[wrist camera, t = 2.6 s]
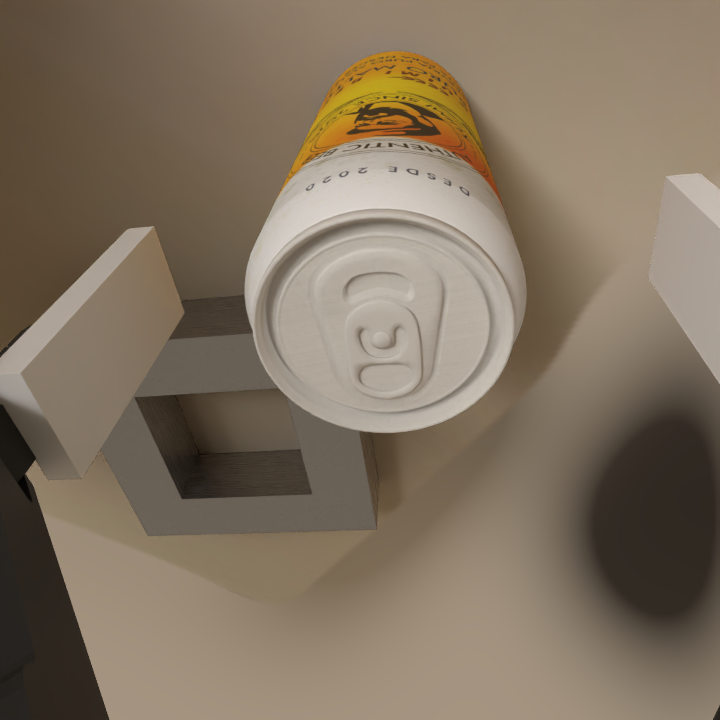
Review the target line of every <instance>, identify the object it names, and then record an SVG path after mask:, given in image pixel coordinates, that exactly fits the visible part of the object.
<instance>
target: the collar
mask: <svg viewBox="0 0 720 720" xmlns="http://www.w3.org/2000/svg"><path fill="white" fill-rule="evenodd" d="M181 304H182V306H183V309H184V312H185V313H184V315H183V316H182V318H181V320H180V321H179V323H178V324H177V326H176V328H175V329H174V331H173V332H172V334H171V336H170V337H169V339H168V341H167V342H166V344H165V345H164V347H163V349H162V350H161V352H160V353H159V355H158V357H157V358H156V360H155V362H154V363H153V365H152V366H151V368H150V370H149V371H148V373H147V375H146V376H145V378H144V379H143V381H142V383H141V384H140V386H139V387H138V389H137V391H136V392H135V394H134V396H133V397H132V399H131V400H130V402H129V404H128V405H127V407H126V408H125V410H124V412H123V413H122V415H121V417H120V418H119V420H118V421H117V423H116V425H115V426H114V428H113V430H112V431H111V433H110V434H109V436H108V438H107V439H106V441H105V442H104V444H103V446H102V447H101V451H102V453H103V455H104V457H105V458H106V460H107V462H108V464H109V466H110V468H111V469H112V471H113V473H114V475H115V477H116V478H117V480H118V482H119V484H120V486H121V488H122V489H123V491H124V493H125V495H126V497H127V498H128V500H129V502H130V504H131V506H132V508H133V509H134V511H135V513H136V515H137V517H138V519H139V520H140V522H141V524H142V526H143V528H144V529H145V531H146V533H147V535H148V536H166V535H201V534H235V533H270V532H304V531H339V530H374V529H377V514H378V495H379V479H378V473H377V467H376V461H375V455H374V449H373V443H372V437H371V432H363V431H358V430H352V429H348V428H345V427H341V426H338V425H335V424H332V423H330V422H327V421H324V420H322V419H320V418H318V417H316V416H314V415H312V414H311V413H309V412H307V411H306V410H304V409H302V408H301V407H300V406H298V405H297V404H296V403H294V402H293V401H292V400H291V399H290V398H288V397H287V396H286V397H287V401H288V405H289V408H290V412H291V416H292V420H293V423H294V427H295V431H296V435H297V438H298V442H299V446H300V450H289V451H268V452H247V453H226V454H205V455H199V453H198V450H197V448H196V445H195V443H194V440H193V438H192V436H191V433H190V431H189V428H188V426H187V424H186V421H185V419H184V416H183V414H182V411H181V409H180V407H179V404H178V402H177V399H176V397H175V395H179V394H195V393H211V392H227V391H243V390H259V389H275V388H278V386H277V385H276V384H275V383H274V382H273V380H272V379H271V377H270V376H269V375H268V373H267V372H266V370H265V368H264V366H263V364H262V362H261V360H260V358H259V355H258V353H257V350H256V346H255V342H254V338H253V330H252V328H251V325H250V322H249V318H248V314H247V310H246V304H245V296H236V297H225V298H213V299H201V300H189V301H181Z"/></svg>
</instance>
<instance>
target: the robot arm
mask: <svg viewBox="0 0 720 720" xmlns="http://www.w3.org/2000/svg"><path fill="white" fill-rule="evenodd" d="M648 279H649V280H650V282H651V283H652V284H653V286H654V288H655V289H656V290H657V292H658V293H659V295H660V296H661V298H662V299H663V301H664V302H665V304H666V305H667V307H668V308H669V310H670V311H671V313H672V314H673V316H674V317H675V319H676V320H677V321H678V323H679V324H680V326H681V327H682V329H683V330H684V332H685V333H686V335H687V336H688V338H689V339H690V341H691V342H692V344H693V345H694V346H695V348H696V350H697V351H698V353H699V354H700V356H701V357H702V358H703V360H704V362H705V363H706V364H707V366H708V367H709V369H710V370H711V372H712V373H713V375H714V376H715V378H716V379H717V381H718V382H719V384H720V190H719V189H718V188H717V187H716V186H715V185H714V184H712V183H711V182H710V181H709V180H708V179H706V178H705V177H704V176H703V175H702V174H700V173H694V174H684V175H673V176H666V177H665V183H664V189H663V195H662V200H661V206H660V212H659V218H658V223H657V229H656V235H655V241H654V247H653V252H652V258H651V264H650V270H649V276H648ZM184 313H185V312H184V309H183V306H182V304H181V301H180V298H179V295H178V292H177V289H176V287H175V284H174V281H173V278H172V275H171V273H170V270H169V267H168V264H167V261H166V258H165V256H164V253H163V250H162V247H161V244H160V241H159V239H158V236H157V233H156V230H155V227H154V226H151V227H140V228H130V229H127V230H126V231H125V232H124V233H123V234H122V235H121V236H120V237H119V238H118V239H117V240H116V241H115V242H114V243H113V244H112V245H111V246H110V247H109V248H108V249H107V250H106V251H105V252H104V253H103V254H102V255H101V256H100V257H99V258H98V259H97V260H96V261H95V262H94V263H93V264H92V265H91V266H90V267H89V268H88V269H87V270H86V271H85V273H84V274H83V275H82V276H81V277H80V278H79V279H78V280H77V281H76V282H75V283H74V284H73V285H72V286H71V287H70V288H69V289H68V290H67V291H66V292H65V293H64V294H63V295H62V296H61V297H60V298H59V299H58V300H57V301H56V302H55V303H54V304H53V305H52V306H51V307H50V308H49V309H48V310H47V311H46V312H45V313H44V314H43V315H42V316H41V317H40V318H39V319H38V320H37V321H36V322H35V323H34V324H32V325H30V326H29V327H27V328H26V329H24V330H22V331H21V332H20V333H19V334H18V335H17V336H16V337H15V338H14V339H13V340H12V341H11V342H10V343H9V344H8V347H5V348H4V349H3V350H2V351H1V352H0V720H109V717H108V714H107V711H106V708H105V705H104V702H103V699H102V696H101V693H100V690H99V687H98V683H97V680H96V677H95V674H94V671H93V668H92V665H91V662H90V659H89V656H88V653H87V650H86V647H85V643H84V640H83V637H82V634H81V631H80V628H79V625H78V622H77V619H76V616H75V613H74V610H73V607H72V604H71V600H70V597H69V594H68V591H67V588H66V585H65V582H64V579H63V576H62V573H61V570H60V567H59V564H58V561H57V557H56V554H55V551H54V548H53V545H52V542H51V539H50V536H49V533H48V530H47V527H46V524H45V521H44V517H43V514H42V511H41V508H40V505H39V502H38V499H37V496H36V493H35V490H34V487H33V485H32V483H31V482H30V480H29V479H28V477H27V476H26V474H25V473H26V472H27V470H28V469H29V468H30V466H31V465H32V463H33V462H34V461H35V460H36V462H37V463H38V465H39V466H40V468H41V469H42V471H43V473H44V474H45V476H46V477H47V479H48V480H66V479H82V478H83V476H84V475H85V473H86V472H87V470H88V468H89V467H90V465H91V463H92V462H93V460H94V459H95V457H96V455H97V454H98V452H99V451H100V449H101V447H102V446H103V444H104V442H105V441H106V439H107V438H108V436H109V434H110V433H111V431H112V430H113V428H114V426H115V425H116V423H117V421H118V420H119V418H120V417H121V415H122V413H123V412H124V410H125V408H126V407H127V405H128V404H129V402H130V400H131V399H132V397H133V396H134V394H135V392H136V391H137V389H138V387H139V386H140V384H141V383H142V381H143V379H144V378H145V376H146V375H147V373H148V371H149V370H150V368H151V366H152V365H153V363H154V362H155V360H156V358H157V357H158V355H159V353H160V352H161V350H162V349H163V347H164V345H165V344H166V342H167V341H168V339H169V337H170V336H171V334H172V332H173V331H174V329H175V328H176V326H177V324H178V323H179V321H180V320H181V318H182V316H183V315H184ZM713 720H720V706H719V708H718V711H717V712H716V714H715V716H714V718H713Z"/></svg>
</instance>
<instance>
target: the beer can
mask: <svg viewBox="0 0 720 720" xmlns="http://www.w3.org/2000/svg"><path fill="white" fill-rule="evenodd" d="M526 299H527V289H526V277H525V272H524V267H523V263H522V261H521V258H520V255H519V252H518V249H517V246H516V243H515V240H514V237H513V234H512V231H511V228H510V226H509V223H508V220H507V217H506V214H505V211H504V208H503V205H502V202H501V199H500V196H499V193H498V190H497V188H496V185H495V182H494V179H493V176H492V173H491V170H490V167H489V164H488V161H487V158H486V155H485V152H484V150H483V147H482V144H481V141H480V138H479V135H478V132H477V129H476V126H475V123H474V120H473V117H472V115H471V112H470V109H469V106H468V103H467V100H466V97H465V95H464V93H463V91H462V89H461V88H460V86H459V85H458V83H457V82H456V80H455V79H454V78H453V77H452V76H451V75H450V74H449V73H448V72H447V71H446V70H445V69H444V68H443V67H441V66H440V65H439V64H437V63H436V62H434V61H432V60H430V59H428V58H426V57H424V56H421V55H418V54H414V53H410V52H402V51H389V52H383V53H378V54H375V55H371V56H369V57H366V58H364V59H362V60H360V61H358V62H357V63H355V64H353V65H352V66H351V67H349V68H348V69H347V70H346V71H345V72H344V73H343V74H342V75H341V76H340V77H339V78H338V79H337V80H336V81H335V83H334V84H333V85H332V87H331V89H330V90H329V92H328V94H327V96H326V98H325V100H324V102H323V104H322V106H321V108H320V110H319V112H318V114H317V116H316V118H315V121H314V123H313V125H312V127H311V129H310V131H309V133H308V135H307V137H306V139H305V141H304V143H303V145H302V147H301V150H300V152H299V154H298V156H297V158H296V160H295V162H294V164H293V166H292V168H291V170H290V172H289V174H288V176H287V179H286V181H285V183H284V185H283V187H282V189H281V191H280V193H279V195H278V197H277V199H276V201H275V203H274V205H273V208H272V210H271V212H270V214H269V216H268V218H267V220H266V222H265V224H264V226H263V228H262V230H261V232H260V234H259V237H258V239H257V241H256V243H255V245H254V247H253V250H252V252H251V255H250V258H249V262H248V265H247V270H246V276H245V304H246V310H247V314H248V318H249V322H250V325H251V328H252V330H253V338H254V342H255V346H256V350H257V353H258V355H259V358H260V360H261V362H262V364H263V366H264V368H265V370H266V372H267V373H268V375H269V376H270V377H271V379H272V380H273V382H274V383H275V384H276V385H277V386H278V388H279V389H280V390H281V391H282V392H283V393H284V394H285V395H286V396H287V397H288V398H290V399H291V400H292V401H293V402H294V403H296V404H297V405H298V406H300V407H301V408H302V409H304V410H306V411H307V412H309V413H311V414H312V415H314V416H316V417H318V418H320V419H322V420H324V421H327V422H330V423H332V424H335V425H338V426H341V427H345V428H348V429H352V430H358V431H363V432H373V433H400V432H408V431H415V430H420V429H424V428H428V427H431V426H434V425H437V424H440V423H443V422H445V421H447V420H449V419H451V418H453V417H455V416H457V415H459V414H461V413H462V412H464V411H466V410H467V409H468V408H470V407H471V406H473V405H474V404H475V403H477V402H478V401H479V400H480V399H481V398H482V397H483V396H484V395H485V394H486V393H487V392H488V391H489V390H490V389H491V388H492V386H493V385H494V384H495V383H496V381H497V380H498V378H499V377H500V375H501V374H502V372H503V370H504V368H505V366H506V364H507V362H508V359H509V356H510V353H511V351H512V346H513V344H514V343H515V341H516V339H517V337H518V334H519V331H520V329H521V326H522V323H523V319H524V314H525V310H526Z"/></svg>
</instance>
